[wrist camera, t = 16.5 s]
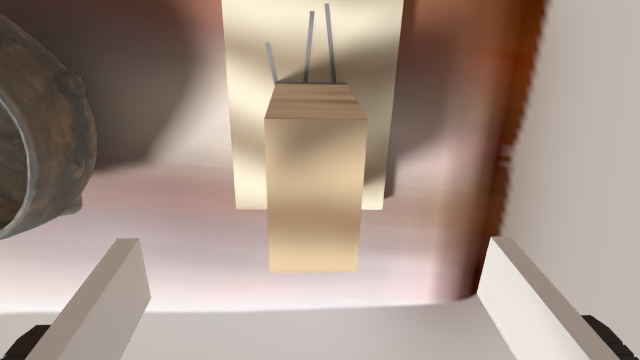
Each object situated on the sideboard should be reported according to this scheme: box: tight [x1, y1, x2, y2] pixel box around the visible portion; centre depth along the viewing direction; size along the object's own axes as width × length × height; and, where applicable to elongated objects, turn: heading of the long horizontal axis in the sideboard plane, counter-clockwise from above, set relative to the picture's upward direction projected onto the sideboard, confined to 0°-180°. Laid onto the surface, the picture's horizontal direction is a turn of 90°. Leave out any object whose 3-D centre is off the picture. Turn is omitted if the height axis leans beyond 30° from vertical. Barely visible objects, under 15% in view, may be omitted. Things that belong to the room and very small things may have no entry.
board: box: [222, 0, 404, 210], centre depth 28 cm, size 24×12×2 cm, turn 179°
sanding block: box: [264, 82, 368, 273], centre depth 25 cm, size 9×5×10 cm, turn 179°
